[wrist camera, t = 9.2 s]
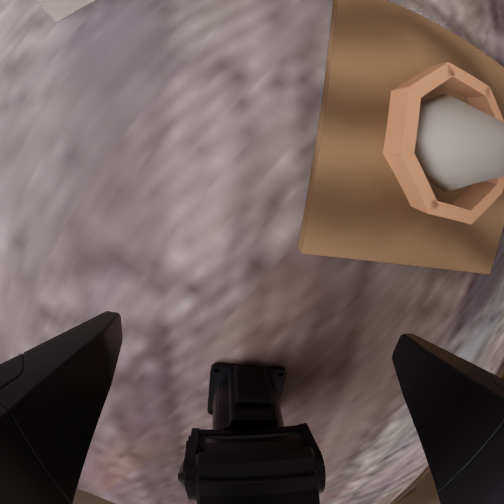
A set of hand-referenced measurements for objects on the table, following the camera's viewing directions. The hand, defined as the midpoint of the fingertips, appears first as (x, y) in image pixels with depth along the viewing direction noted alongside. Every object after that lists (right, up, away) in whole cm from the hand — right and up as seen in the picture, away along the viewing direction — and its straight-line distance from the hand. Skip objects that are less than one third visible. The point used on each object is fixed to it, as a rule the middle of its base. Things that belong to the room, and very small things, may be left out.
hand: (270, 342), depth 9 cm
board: (+14, +11, +11) cm, 21 cm away
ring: (+14, +11, +10) cm, 20 cm away
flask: (+14, +11, +10) cm, 20 cm away
